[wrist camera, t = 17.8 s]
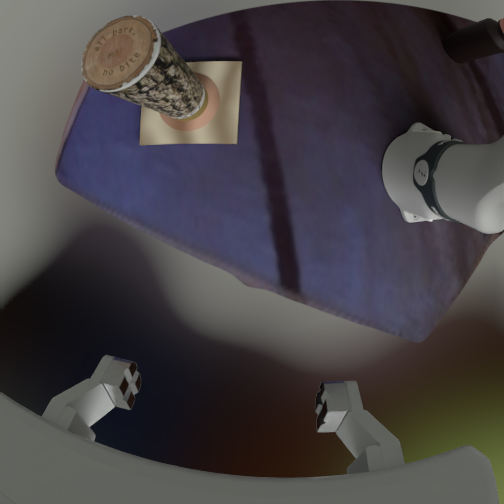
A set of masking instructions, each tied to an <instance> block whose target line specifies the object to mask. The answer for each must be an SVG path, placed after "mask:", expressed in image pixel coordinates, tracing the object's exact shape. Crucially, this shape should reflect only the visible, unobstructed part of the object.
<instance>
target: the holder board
mask: <svg viewBox="0 0 504 504" xmlns="http://www.w3.org/2000/svg"><path fill="white" fill-rule="evenodd" d="M186 64H187V65H188V66H189V68H190V69H191V70H192V72H193V73H194V74H195V75H196V77H197V78H198V79H199V81H200V82H201V83H202V85H203V86H204V88H205V89H206V91H207V93H208V105H207V107H206V109H205V111H204V112H203V113H202V114H201V115H200V116H199V117H197V118H196V119H193V120H190V121H180V120H177V119H175V118H172V117H170V116H167V115H164V114H162V113H159V112H157V111H154V110H152V109H149V108H146V107H144V106H142V108H141V124H140V145H157V144H237V139H238V121H239V104H240V87H241V72H242V61H209V62H188V63H186Z"/></svg>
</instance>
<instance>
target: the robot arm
mask: <svg viewBox="0 0 504 504" xmlns="http://www.w3.org/2000/svg"><path fill="white" fill-rule="evenodd" d="M423 130H424V131H423ZM382 176H383V182H384V185H385V188H386V191H387V193H388V194H389V196H390V197H391V199H392V200H393V201H394V202H395V203H396V204H397V205H398V207H399V208H400V211H401V213H402V216H403V218H404V220H405V221H407V222H418V221H432V220H435V219H445V220H448V221H453V222H461V223H464V224H466V225H468V226H470V227H472V228H474V229H476V230H479V231H481V232H483V233H488V234H491V233H497V232H500V231H502V230H504V135H503V137H502V138H501V139H500V140H498V141H497V142H495V143H492V144H484V145H469V144H467V143H465V142H462V141H461V140H458V139H453V140H451V136H450V135H448V134H444V135H442V133H441V132H439V131H434V130H432V129H430V128H429V127H427V126H425V125H423V124H422V123H414V124H413V125H412V126H411V127H410V129H409V130H408V132H406V133H405V134H403V135H401V136H399V137H397V138H396V139H395V140H394V141H393V142H392V143H391V144H390V145H389V147H388V148H387V150H386V153H385V155H384V159H383V164H382ZM414 216H415V217H414ZM136 369H137V365H136V363H135V362H131V361H127V360H123V359H119V358H116V357H112V356H108V355H105V356H104V357H103V358H102V360H101V362H100V363H99V365H98V367H97V368H96V370H95V372H94V373H93V375H92V377H91V379H86V380H84V381H82V382H81V383H79V384H77V385H75V386H74V387H72V388H70V389H68V390H67V391H65V392H63V393H61V394H59V395H57V396H56V397H54V398H52V400H51V401H50V403H49V405H48V407H47V408H46V410H45V412H44V414H43V416H42V417H41V416H38V415H37V414H35V413H33V412H32V411H30V410H28V409H26V408H25V407H23V406H21V405H20V404H18V403H17V402H15V401H13V400H12V399H10V398H8V397H7V396H6V395H4V394H3V393H1V392H0V504H499V499H498V493H497V487H496V482H495V477H494V473H493V469H492V466H491V463H490V461H489V459H488V458H487V457H486V456H485V455H484V454H482V453H481V452H479V451H478V450H477V449H475V448H473V447H472V446H470V445H465V446H462V447H459V448H456V449H453V450H451V451H448V452H445V453H442V454H439V455H436V456H433V457H429V458H426V459H422V460H419V461H415V462H411V463H408V464H404V459H403V455H402V451H401V446H400V443H399V440H398V439H397V438H396V437H394V435H392V434H391V433H390V432H389V431H388V430H387V429H386V428H385V427H384V426H383V425H382V424H381V423H380V422H378V421H377V420H376V419H375V418H374V417H373V416H372V415H371V414H370V413H369V412H368V411H367V410H363V406H362V402H361V398H360V393H359V389H358V385H357V382H356V381H331V382H322V383H321V384H320V391H319V392H318V393H317V395H316V400H315V412H316V413H317V414H318V417H317V419H316V423H317V432H336V434H337V435H338V436H339V437H340V439H341V440H342V441H343V443H344V444H345V445H346V446H347V448H348V449H349V450H350V452H351V453H352V454H353V455H354V457H355V458H356V460H355V461H354V462H353V463H352V464H351V465H350V466H349V467H348V468H347V473H348V474H346V475H338V476H327V477H326V476H325V477H311V478H310V477H308V478H264V477H247V476H235V475H226V474H218V473H211V472H204V471H198V470H192V469H187V468H181V467H177V466H172V465H167V464H163V463H160V462H155V461H152V460H148V459H144V458H141V457H137V456H134V455H131V454H128V453H124V452H121V451H118V450H115V449H113V448H110V447H107V446H104V445H102V444H99V443H96V442H94V439H95V434H94V433H93V431H92V430H91V429H90V428H89V427H90V426H91V425H92V424H94V423H95V422H96V421H98V420H99V419H100V418H101V417H103V416H104V415H105V414H107V413H108V412H109V411H110V410H111V409H113V408H114V407H115V406H117V407H121V408H124V409H129V410H131V408H132V406H133V403H134V401H135V397H134V394H136V393H137V392H138V391H139V389H140V385H141V376H140V374H139V373H138V372H137V371H136Z"/></svg>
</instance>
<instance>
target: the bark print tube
mask: <svg viewBox="0 0 504 504" xmlns="http://www.w3.org/2000/svg"><path fill="white" fill-rule="evenodd" d="M81 70H82V75H83V78H84V80H85V81H86V83H87V84H88V85H89V86H91V87H92V88H94V89H96V90H98V91H101V92H104V93H107V94H110V95H113V96H116V97H119V98H122V99H125V100H128V101H130V102H133V103H136V104H138V105H141V106H144V107H146V108H149V109H152V110H154V111H157V112H159V113H162V114H164V115H167V116H170V117H172V118H175V119H177V120H180V121H190V120H193V119H196V118H197V117H199V116H200V115H201V114H202V113H203V112H204V111H205V109H206V107H207V105H208V93H207V91H206V89H205V88H204V86H203V85H202V83H201V82H200V81H199V79H198V78H197V77H196V75H195V74H194V73H193V72H192V70H191V69H190V68H189V66H188V65H187V64H186V63H185V61H184V60H183V59H182V57H181V56H180V55H179V54H178V52H177V51H176V50H175V49H174V47H173V46H172V45H171V44H170V42H169V41H168V40H167V39H166V38H165V36H164V35H163V34H162V33H161V32H160V30H159V29H158V28H157V27H156V26H155V25H154V24H153V23H152V22H151V21H150V20H148V19H147V18H145V17H142V16H135V15H131V16H125V17H121V18H118V19H115V20H113V21H111V22H109V23H108V24H107V25H105V26H103V27H102V28H101V29H100V30H99V31H98V32H97V33H96V34H95V35H94V36H93V37H92V38H91V40H90V41H89V43H88V45H87V46H86V49H85V51H84V53H83V57H82V62H81Z"/></svg>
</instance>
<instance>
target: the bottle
mask: <svg viewBox="0 0 504 504" xmlns="http://www.w3.org/2000/svg"><path fill="white" fill-rule="evenodd" d="M443 45H444V48H445V50H446V52H447V54H448V55H449V56H450V57H451V58H452V59H453V60H454V61H456V62H458V63H464V62H467V61H471V60H475V59H478V58H482V57H486V56H490V55H494V54H498V53H503V52H504V19H501V20H499V21H498V22H497V21H495V20H493V19H490V18H487V19H485V20H482V21H479V22H477V23H474V24H472V25H469V26H467V27H465V28H462V29H460V30H458V31H455V32H453V33H451V34H449V35H447V36H445V37H444V40H443Z"/></svg>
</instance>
